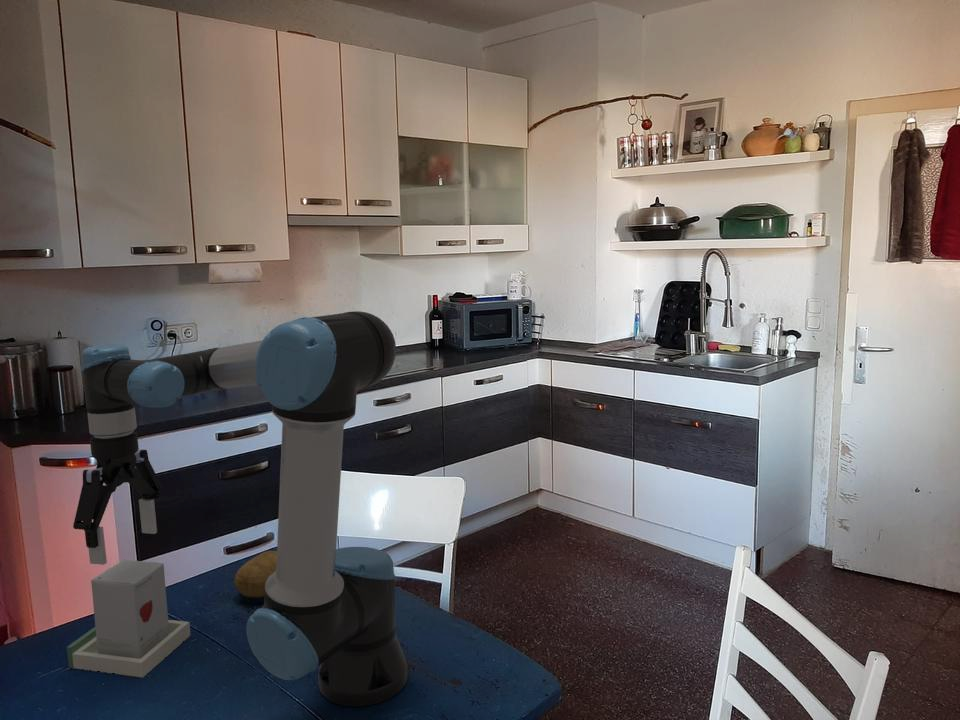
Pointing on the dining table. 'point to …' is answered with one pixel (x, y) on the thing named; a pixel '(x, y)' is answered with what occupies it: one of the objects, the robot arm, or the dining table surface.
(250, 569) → the potato
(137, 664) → the shallow square tray
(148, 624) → the supplement box
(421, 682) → the dining table surface
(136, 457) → the robot arm
